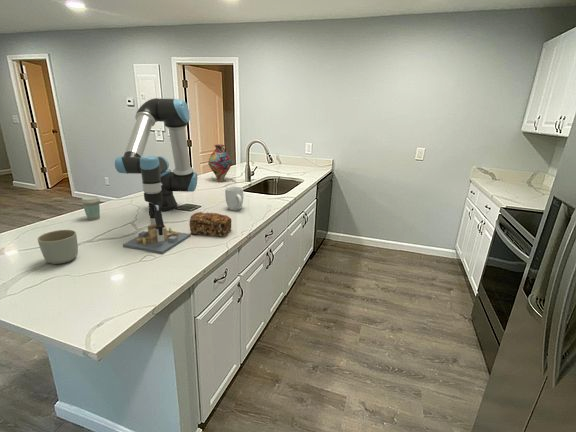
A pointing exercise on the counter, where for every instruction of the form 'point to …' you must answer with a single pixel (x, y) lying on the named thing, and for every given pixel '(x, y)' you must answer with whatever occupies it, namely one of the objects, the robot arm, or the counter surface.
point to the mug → (234, 197)
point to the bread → (210, 224)
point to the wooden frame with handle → (153, 235)
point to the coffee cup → (91, 207)
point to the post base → (157, 246)
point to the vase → (220, 163)
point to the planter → (59, 246)
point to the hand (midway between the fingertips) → (157, 236)
